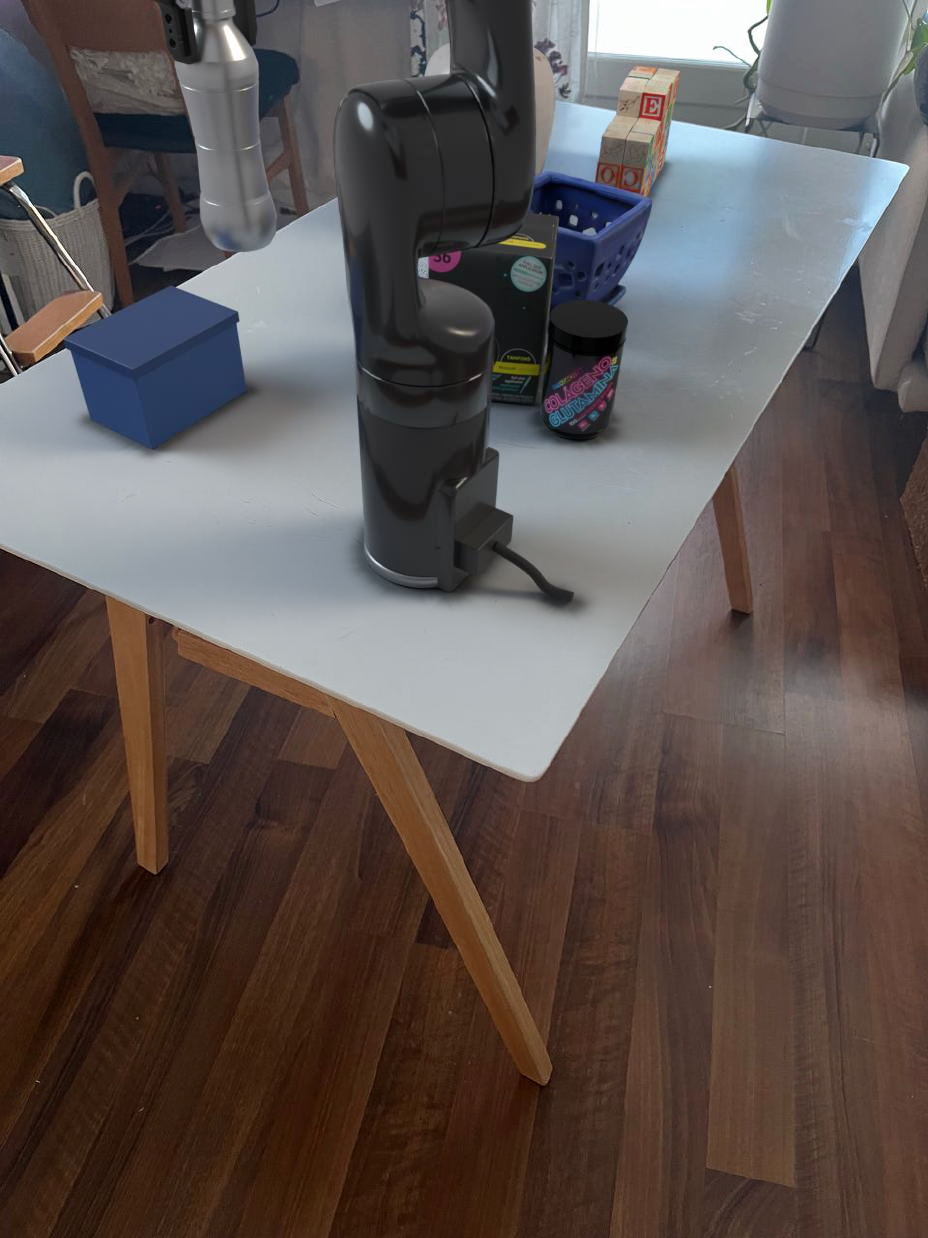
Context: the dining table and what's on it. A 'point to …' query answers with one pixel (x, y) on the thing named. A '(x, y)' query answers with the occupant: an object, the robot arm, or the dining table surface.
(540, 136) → the vase
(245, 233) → the silver water bottle
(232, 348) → the blue box
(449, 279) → the tampon box
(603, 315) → the supplement container
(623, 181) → the stack of blocks
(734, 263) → the dining table surface
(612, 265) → the flower pot
